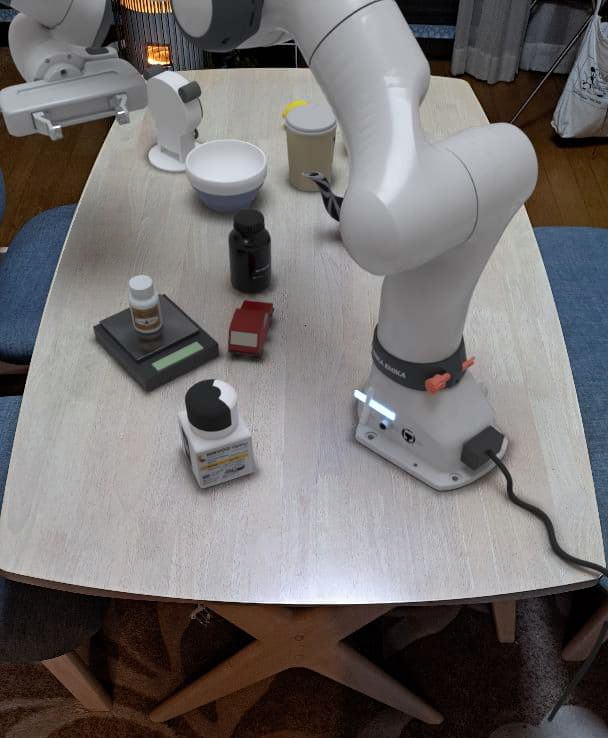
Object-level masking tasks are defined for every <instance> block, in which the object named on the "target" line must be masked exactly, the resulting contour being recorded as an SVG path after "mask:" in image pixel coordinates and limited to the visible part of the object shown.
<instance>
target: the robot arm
mask: <svg viewBox="0 0 608 738" xmlns="http://www.w3.org/2000/svg"><path fill="white" fill-rule="evenodd" d="M149 1H150V2H169V6H170V10H171V14H172V17H173V19H174V21H175V24H176V26H177V28H178V30H179V32H180V34H181V35H182V36H183V38H184V39H185V40H186V41H187V42H188V43H189V44H190V45H191V46H193V47H194V48H196V49H198V50H202V51H206V52H211V53H227V52H231V51H233V50H238V49H239V50H240V49H253V48H259V47H261V48H262V47H263V48H267V47H272V46H276V45H280V44H283V43H286V42H288V41H292V40H293V41H294V43H295V45H296V46H297V48H298V49H299V51H300V54H301V55H302V57H303V59H304V61H305V64H306V65H307V67H308V68H309V70H310V72H311V74H312V76H313V78H314V80H315V81H316V83H317V85H318V88H320V90H321V92H322V94H323V96H324V98H325V100H326V102H327V104H328V106H329V108H330V109H331V110H332V112H333V114H334V116H335V118H336V120H337V122H338V124H337V125H338V126H339V129H340V131H341V135H342V134H343V137H344V140H345V143H344V145H345V144H346V145H345V148H346V154H347V159H348V160H347V161H348V182H347V187H348V188H347V187H346V189H347V191H346V190H345V192H346V195H345V194H344V195H345V197H344V196H343V198H344V200H343V202H342V206H341V211H340V222H339V232H340V236H341V240H342V243H343V245H344V247H345V250H346V251H347V254H348V255H349V256H350V258H351V259H352V260H353V262H354V263H355V264H356V265H358V266H359V267H360V268H361V269H362V270H364V271H365V272H367V273H369V274H371V275H373V276H378V277H383V276H384V278H383V279H382V280H383V281H382V284H381V289H380V290H381V291H380V299H379V300H380V301H379V309H378V318H377V322H376V325H375V327H374V330H373V337H372V340H371V344H370V345H371V353H370V354H371V359H372V361H371V362H372V363H371V367H370V371H369V375H368V379H367V382H366V385H365V388H364V390H363V392H361V391H359V390H357V389H356V390H354V397H355V398H357V399H358V403H357V409H356V411H357V417H358V424H357V427H356V430H355V434H354V439H355V440H356V441H357V442H358V443H359V444H361V445H363V446H364V447H366V448H368V449H369V450H371V451H373V452H374V453H376V454H377V455H379V456H381V457H382V458H384V459H386V461H388V462H390V463H392V464H393V465H395V466H397V467H398V468H400V469H401V470H403V471H404V472H406V473H408V474H410V475H411V476H413V477H414V478H416V479H418V480H419V481H421V482H422V483H424V484H426V485H428V486H429V487H431V488H432V489H434V490H436V491H451V490H455V489H459V488H462V487H465V486H467V485H469V484H472V483H474V482H475V481H477V480H479V479H481V478H483V476H485V475H486V474H487V473H489V472H490V471H492V470H493V469H494V468H495V467H496V466H497V467H498V469H500V471H501V472H502V474H503V476H504V478H505V482H506V494H507V496H508V498H509V499H510V500H511V501H512V502H513V503H514V504H515V505H517V506H518V507H521V508H522V509H524V510H527V511H529V512H532V513H534V515H535V514H536V515H537V516H538V517H540V519H542V521H543V522H544V524H545V527H546V530H547V533H548V538H549V542H550V545H551V547H552V548H553V550H554V551H555V553H556V554H557V555H558V556H560V557H561V558H562V559H563V560H565V561H567V562H569V563H571V564H573V565H576V566H580V567H583V568H587V569H590V570H594V571H596V572H598V573H601V574H602V575H603V576H605V577H606V578H607V579H608V569H607V568H606V567H604V566H602V565H600V564H598V563H595V562H592V561H588V560H585V559H581V558H578V557H575V556H574V555H571V554H569V553H567V552H566V551H565V550H563V548H562V547H561V546H560V544H559V543H558V540H557V537H556V532H555V528H554V524H553V523H552V520H551V519H550V517H549V515H547V513H546V512H545V511H543V510H542V509H540V508H539V507H537V506H534V505H532V504H530V503H528V502H526V501H523V500H522V499H521V498H519V497H517V495H516V494H515V493H514V490H513V489H514V488H513V487H514V482H513V481H514V480H513V477H512V475H511V473H510V471H509V469H508V468H507V466H506V465H505V464H504V462H503V461H502V459H503V458H504V456H505V454H506V452H507V449H508V445H509V441H508V438H507V437H506V435H505V434H503V433H502V431H501V430H500V429H499V428H498V427H497V426H496V415H495V411H494V408H493V406H492V405H491V403H490V401H489V400H488V398H487V396H488V394H489V393H488V388H487V386H486V385H485V384H484V382H478V381H477V380H476V378H475V376H474V375H473V373H472V372H471V370H470V369H469V368H471V367H472V366H473V365H474V364H475V360H476V356H472V357H470V358H468V359H467V351H466V344H465V337H464V329H465V325H466V320H467V317H468V314H469V313H468V312H469V309H470V304H471V301H472V299H473V294H474V292H475V289H476V287H477V285H478V282H479V280H480V278H481V276H482V274H483V272H484V270H485V268H486V266H487V264H488V263H489V260H490V259H491V257H492V254H493V253H494V251H495V249H496V247H497V246H498V243H499V241H500V239H501V238H502V236H503V234H504V232H505V231H506V229H507V227H508V226H509V224H510V223H511V221H512V220H513V218H514V217H515V216H516V214H517V213H518V212H519V210H520V209H521V208H522V207H523V205H524V204H526V202H527V201H528V200H529V199H530V197H531V196H532V194H533V192H534V191H535V188H536V185H537V182H538V175H539V163H538V157H537V154H536V151H535V148H534V146H533V144H532V142H531V140H530V139H529V137H528V136H527V135H526V133H525V132H523V131H522V130H521V128H519V127H517V126H516V125H514V124H511V123H508V122H496V123H487V124H481V125H475V126H470V127H466V128H464V129H461V130H459V131H458V132H456V133H453V134H450V136H447V137H445V138H442V139H440V140H438V141H436V142H434V143H432V144H431V143H430V142H429V140H428V139H427V138H426V135H425V132H424V129H423V125H422V122H421V116H420V109H421V106H422V104H423V103H424V101H425V99H426V96H427V94H428V91H429V88H430V84H431V68H430V67H431V66H430V64H429V61H428V59H427V58H426V55H425V53H424V52H423V50H422V48H421V46H420V44H419V42H418V41H417V38H416V37H415V35H414V33H413V31H412V29H411V28H410V26H409V24H408V22H407V20H406V19H405V17H404V15H403V13H402V11H401V9H400V6H398V3H397V2H396V0H149ZM0 4H3V5H4V6H7V7H11V8H12V9H14V10H16V11H18V12H19V13H18V14H16V15H15V16H14V17H13V19H12V20H11V22H10V24H9V27H8V28H9V29H8V46H9V50H10V55H11V58H12V60H13V63H14V64H15V67H16V69H17V71H18V72H19V73H20V75H21V77H22V78H23V79H24V81H25V83H24V82H23V83H19V84H15V85H10V86H7V87H4V88H2V89H1V90H0V113H2V115H3V119H4V122H5V126H6V129H7V132H8V134H9V135H11V136H13V137H17V138H19V137H20V138H21V137H24V136H30V135H34V134H40V135H44V136H47V137H50V140H51V141H53V142H55V141H57V140H62V139H64V134H63V131H62V128H64V127H65V128H66V127H69V126H75V125H78V124H83V123H87V122H90V121H96V120H100V119H104V118H109V117H114V116H115V119H116V120H115V121H116V122H117V123H118V125H119V126H123V125H127V124H130V123H131V119H130V118H131V117H130V113H131V112H135V111H140V110H144V109H147V107H148V92H147V87H146V83H147V82H146V80H145V79H144V77H143V75H141V73H140V71H138V70H137V69H136V67H134V66H133V65H132V63H130V61H129V62H128V60H126V59H122V58H119V54H118V51H117V49H116V48H114V47H111V46H102V45H103V43H104V42H105V39H106V38H107V36H108V32H109V30H110V27H111V24H112V19H113V9H112V8H113V7H112V0H0ZM343 137H342V138H343ZM607 632H608V620H604V621H603V623H602V626H601V629H600V630H599V634H598V636H597V638H596V641H595V643H594V645H593V647H592V649H591V651H590V653H589V654H588V656H587V657H586V660H585V661H584V663H583V664H582V665H581V667H580V668H579V671H578V672H577V673H576V675H574V677H573V679H572V680H571V682H570V683H569V685H568V686H567V687H566V689H565V690H564V691H563V693H562V695H561V696H560V698H559V699H558V700H557V702H556V704H555V705H554V707H553V708H552V710H551V711H550V713H549V715H548V716H547V722H548V723H551V722H552V721H553V720H554V719H555V717H556V715H557V713H558V712H559V711H560V709H561V707H562V706H563V704H564V703H565V701H566V700H567V699H568V697H569V696H570V695H571V693H572V692H573V690H574V689H575V687H576V686H577V685H578V684H579V682H580V681H581V679H582V677H584V675H585V673H586V672H587V670H589V667H590V666H591V664H592V662H593V661H594V659H595V657H597V654H598V652H599V650H600V648H601V646H602V645H603V642H604V640H605V638H606V635H607Z"/></svg>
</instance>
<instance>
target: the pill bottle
mask: <svg viewBox="0 0 608 738" xmlns="http://www.w3.org/2000/svg"><path fill="white" fill-rule="evenodd" d="M128 288H129V292H130V293H129V295H128V304H129V307H130V309H131V314H132V319H133V325H134V327H135V329H136V330H137V331H139V332H141V333H153V332H156V331H157V330H159V329H160V328H161V326H162V323H163V322H162V315H161V309H160V302H159V297H158V294H159V293H158V292H157V291H156V290H155V287H154V283H153V279H152V277H150V276H148V275H146V274H139V275H135V276H133V277H132V278H130V279H129V281H128Z"/></svg>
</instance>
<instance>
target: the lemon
mask: <svg viewBox="0 0 608 738" xmlns="http://www.w3.org/2000/svg"><path fill="white" fill-rule="evenodd" d="M305 104H310V103H309V102H308V101H305V100H302V99H301V100H300V99H298V100H293V101H291V102H290V103H289V104H288V105H287V106H286V107H285V108H284V110H283V111H282V113H281V117H282V118H283V120H284V121H285V118H286V116H287V114H288V112H289V111H290V110H291V109H293V108H294V107H297V106H300V105H305Z"/></svg>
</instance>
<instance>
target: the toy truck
mask: <svg viewBox="0 0 608 738" xmlns="http://www.w3.org/2000/svg"><path fill="white" fill-rule="evenodd" d="M274 311H275V307H274V303H272V302H263V301H256V300H248V299H243V301H242V303H241V306H240V308H238V307H236V308H235V309H234V313H233V316H232V319H231V321H230V324H229V327H228V340H227V341H228V342H227V348H228V350H227V352H228V354H230V355H234V356H237V355H242V356H243V355H244V356H252V357H253V358H258V359H261V358H262V354H263V348H264V344H265V340H266V338H267V334H268V332H269V331H268V330H269V327H270V326H271V325H272V321H273V315H274Z"/></svg>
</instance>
